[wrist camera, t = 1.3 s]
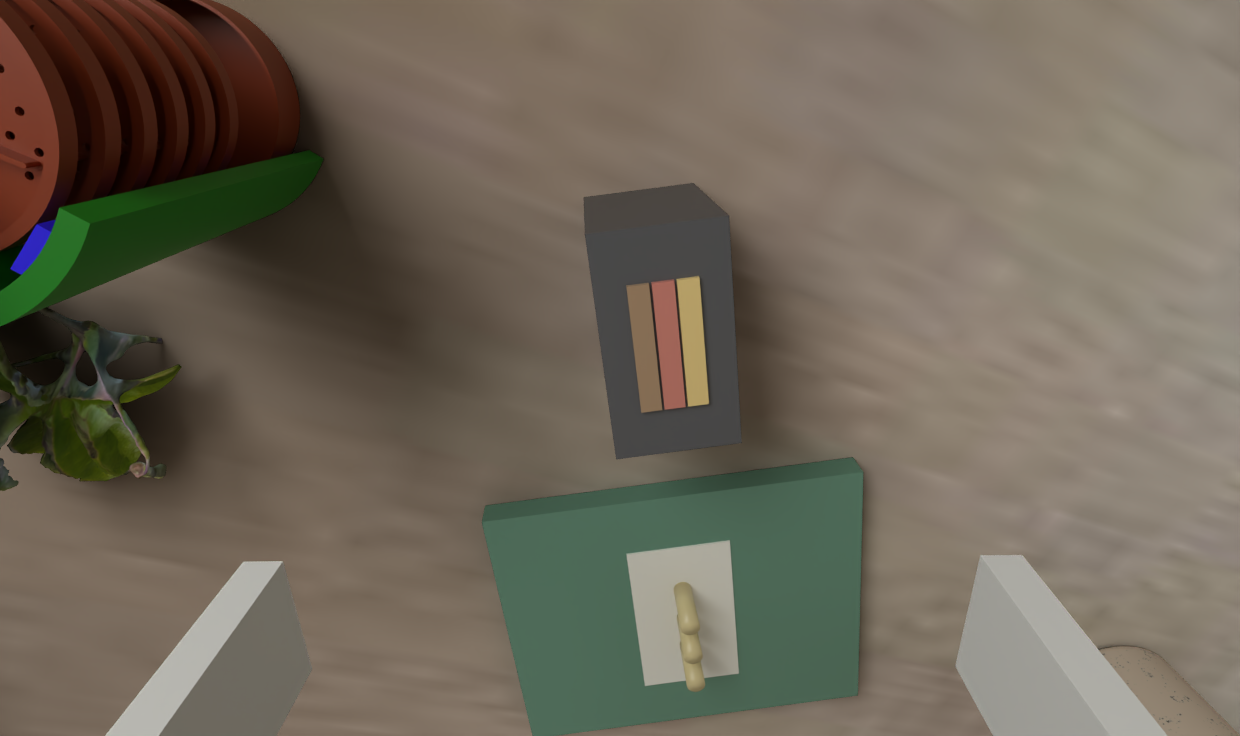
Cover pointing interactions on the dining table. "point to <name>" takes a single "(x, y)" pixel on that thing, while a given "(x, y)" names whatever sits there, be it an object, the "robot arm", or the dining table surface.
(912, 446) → the dining table surface
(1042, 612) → the robot arm
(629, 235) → the plug housing
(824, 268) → the dining table surface
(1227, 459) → the dining table surface
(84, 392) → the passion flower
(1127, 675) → the teacup with lid
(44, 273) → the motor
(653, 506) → the header board
